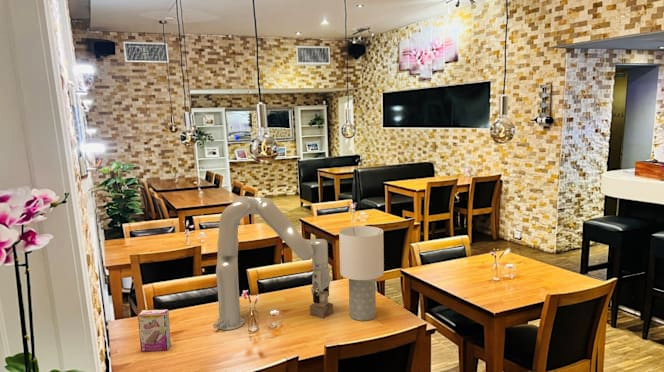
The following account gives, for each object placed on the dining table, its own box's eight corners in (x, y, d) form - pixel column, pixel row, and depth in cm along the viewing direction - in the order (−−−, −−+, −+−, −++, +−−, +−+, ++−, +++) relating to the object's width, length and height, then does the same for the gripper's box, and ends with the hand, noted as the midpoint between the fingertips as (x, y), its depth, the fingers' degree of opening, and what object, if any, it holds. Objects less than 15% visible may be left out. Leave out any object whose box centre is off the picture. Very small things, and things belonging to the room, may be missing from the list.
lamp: (373, 304, 228) (372, 224, 222) (391, 321, 208) (390, 233, 202) (335, 310, 222) (333, 228, 216) (349, 328, 202) (347, 238, 196)
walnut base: (323, 319, 213) (322, 309, 212) (310, 315, 217) (309, 305, 217) (333, 313, 219) (332, 303, 218) (320, 309, 224) (320, 300, 223)
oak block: (323, 307, 214) (323, 295, 213) (314, 305, 216) (314, 293, 215) (328, 303, 219) (327, 291, 218) (319, 301, 221) (318, 290, 220)
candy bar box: (140, 352, 186) (137, 314, 183) (145, 346, 190) (141, 309, 188) (167, 351, 186) (164, 313, 184) (171, 345, 191) (168, 308, 188)
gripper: (318, 271, 205) (319, 307, 208) (335, 260, 221) (336, 294, 223) (304, 269, 209) (305, 304, 211) (321, 259, 224) (322, 291, 226)
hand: (321, 299), depth 217 cm, fingers open, 9 cm apart
